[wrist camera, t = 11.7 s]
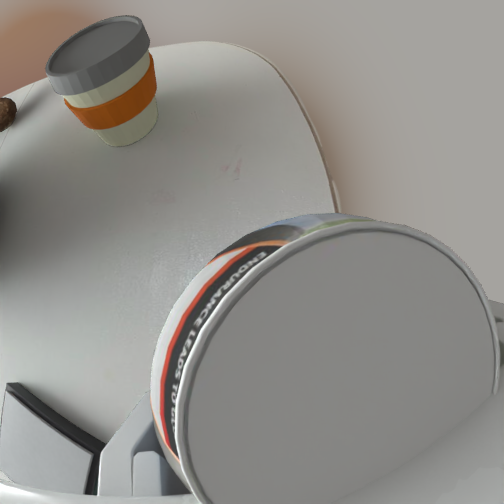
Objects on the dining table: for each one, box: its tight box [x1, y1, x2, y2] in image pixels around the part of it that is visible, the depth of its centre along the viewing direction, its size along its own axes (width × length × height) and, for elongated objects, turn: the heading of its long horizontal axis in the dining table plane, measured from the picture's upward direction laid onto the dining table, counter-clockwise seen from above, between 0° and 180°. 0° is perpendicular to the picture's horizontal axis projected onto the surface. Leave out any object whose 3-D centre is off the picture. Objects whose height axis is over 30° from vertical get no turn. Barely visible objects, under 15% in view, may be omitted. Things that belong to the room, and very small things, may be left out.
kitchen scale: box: [0, 382, 107, 495], centre depth 22 cm, size 15×15×3 cm
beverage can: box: [150, 213, 500, 504], centre depth 8 cm, size 6×7×12 cm
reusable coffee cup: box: [46, 15, 158, 147], centre depth 30 cm, size 13×13×15 cm
